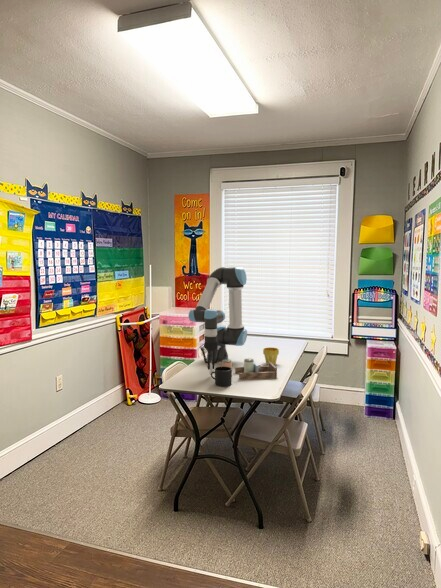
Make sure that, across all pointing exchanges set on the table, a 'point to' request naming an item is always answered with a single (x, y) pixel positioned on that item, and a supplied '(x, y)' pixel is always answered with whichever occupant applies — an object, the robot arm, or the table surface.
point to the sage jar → (248, 365)
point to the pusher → (256, 367)
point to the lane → (262, 373)
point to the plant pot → (271, 354)
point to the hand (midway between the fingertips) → (211, 374)
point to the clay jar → (227, 364)
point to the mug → (222, 376)
